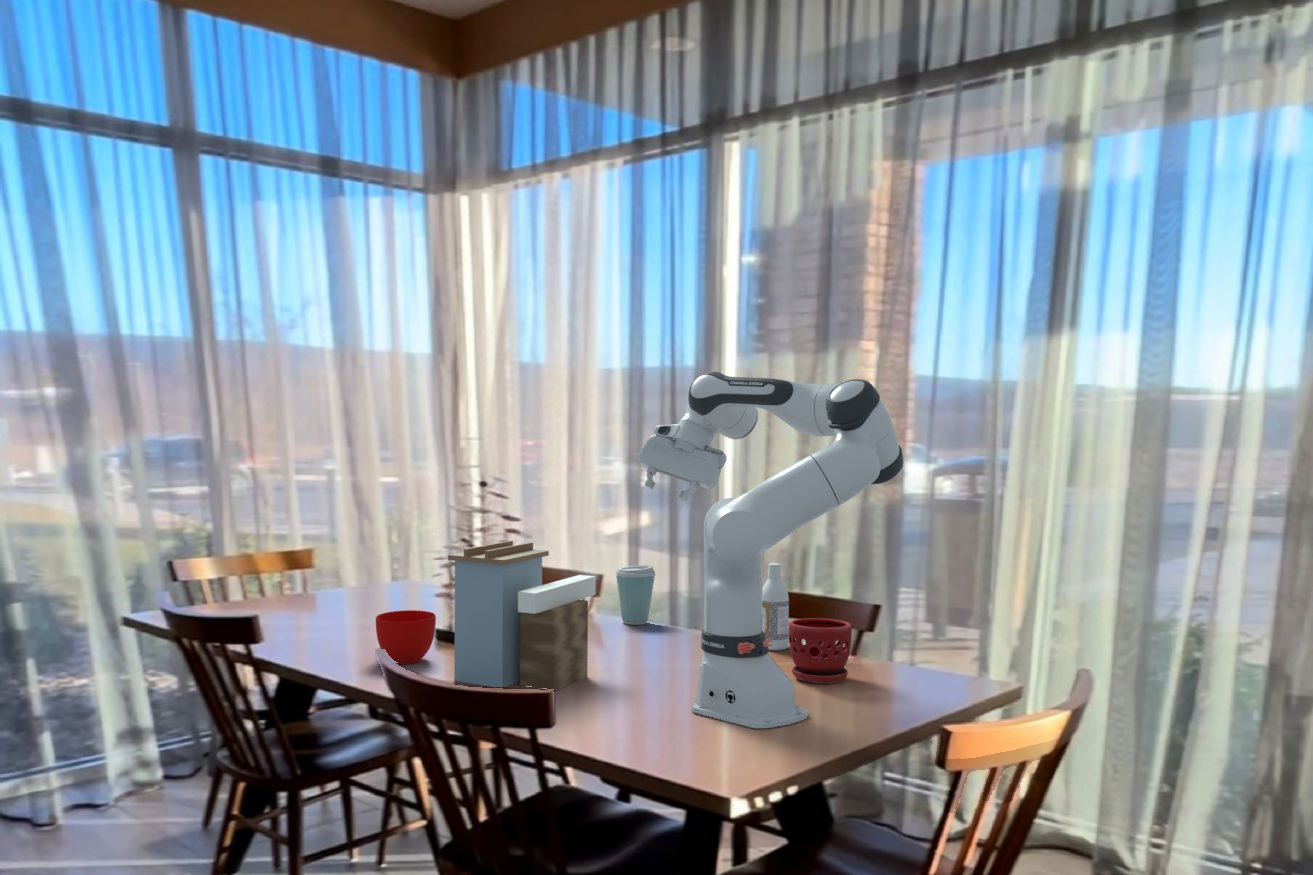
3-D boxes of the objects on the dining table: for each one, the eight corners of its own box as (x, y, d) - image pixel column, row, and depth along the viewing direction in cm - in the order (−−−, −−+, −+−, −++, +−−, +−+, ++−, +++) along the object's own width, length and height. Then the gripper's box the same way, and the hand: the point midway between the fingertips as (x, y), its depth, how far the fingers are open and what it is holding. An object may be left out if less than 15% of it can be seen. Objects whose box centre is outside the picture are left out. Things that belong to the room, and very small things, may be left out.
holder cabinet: (494, 664, 223) (495, 539, 222) (547, 672, 216) (548, 543, 216) (447, 681, 209) (448, 547, 208) (503, 690, 202) (504, 552, 202)
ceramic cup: (414, 647, 238) (414, 605, 237) (445, 662, 224) (445, 617, 224) (360, 655, 230) (360, 611, 230) (388, 671, 216) (389, 624, 216)
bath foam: (754, 645, 244) (755, 562, 244) (780, 643, 246) (781, 561, 246) (765, 651, 237) (766, 566, 237) (792, 649, 239) (794, 565, 239)
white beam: (579, 593, 222) (579, 574, 222) (595, 594, 220) (595, 576, 220) (517, 611, 200) (518, 591, 200) (535, 613, 199) (535, 593, 199)
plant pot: (864, 682, 211) (864, 624, 211) (813, 689, 205) (814, 630, 205) (824, 668, 223) (825, 613, 222) (775, 675, 216) (776, 618, 216)
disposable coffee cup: (613, 626, 264) (613, 568, 263) (616, 618, 274) (616, 562, 274) (654, 627, 263) (654, 569, 263) (655, 618, 274) (656, 563, 274)
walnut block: (555, 671, 217) (555, 597, 217) (587, 676, 213) (587, 600, 213) (520, 685, 206) (520, 607, 205) (553, 691, 202) (553, 611, 201)
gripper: (733, 458, 232) (708, 512, 229) (660, 435, 243) (634, 486, 239) (725, 447, 227) (698, 501, 224) (650, 424, 238) (624, 475, 234)
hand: (665, 493), depth 232 cm, fingers open, 8 cm apart
